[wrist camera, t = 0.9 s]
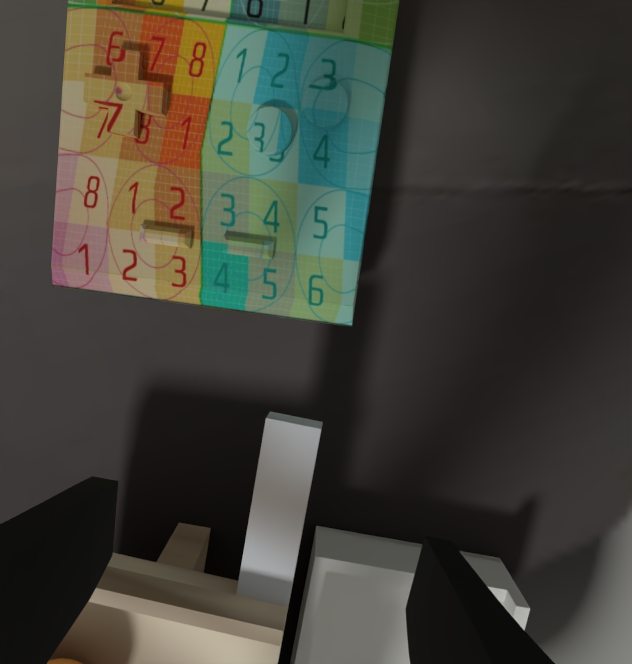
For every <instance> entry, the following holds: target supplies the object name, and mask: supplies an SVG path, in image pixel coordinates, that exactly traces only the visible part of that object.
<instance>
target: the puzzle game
mask: <svg viewBox="0 0 632 664" xmlns="http://www.w3.org/2000/svg"><path fill="white" fill-rule="evenodd" d="M398 7H399V0H68V12H67V27H66V43H65V59H64V74H63V90H62V106H61V121H60V137H59V153H58V168H57V184H56V200H55V215H54V231H53V247H52V262H51V268H52V280H53V286H55V287H63V288H70V289H77V290H85V291H92V292H100V293H107V294H114V295H122V296H129V297H136V298H144V299H151V300H158V301H166V302H173V303H180V304H188V305H195V306H202V307H210V308H217V309H224V310H232V311H239V312H247V313H254V314H261V315H269V316H276V317H283V318H291V319H298V320H305V321H313V322H320V323H327V324H335V325H342V326H349V327H352V323H353V316H354V309H355V302H356V296H357V289H358V282H359V275H360V268H361V261H362V254H363V247H364V241H365V234H366V227H367V220H368V213H369V206H370V199H371V192H372V186H373V179H374V172H375V165H376V158H377V151H378V144H379V137H380V131H381V124H382V117H383V110H384V103H385V96H386V89H387V82H388V76H389V69H390V62H391V55H392V48H393V41H394V34H395V27H396V21H397V14H398Z"/></svg>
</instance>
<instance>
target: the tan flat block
mask: <svg viewBox="0 0 632 664" xmlns="http://www.w3.org/2000/svg"><path fill="white" fill-rule="evenodd" d="M210 530H211V528H207V527H202V526H196V525H190V524H184V523H178V525H177V527H176V529H175V530H174V532H173V534H172V536H171V537H170V539H169V541H168V543H167V544H166V546H165V548H164V550H163V551H162V553H161V555H160V557H159V558H158V560H157V563H161V564H166V565H170V566H175V567H179V568H184V569H188V570H192V571H197V572H201V573H204V569H205V562H206V556H207V549H208V543H209V537H210Z"/></svg>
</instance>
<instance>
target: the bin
mask: <svg viewBox="0 0 632 664" xmlns="http://www.w3.org/2000/svg"><path fill="white" fill-rule="evenodd" d="M422 545H423V544H418V543H412V542H407V541H401V540H395V539H390V538H384V537H378V536H373V535H367V534H361V533H355V532H350V531H344V530H338V529H333V528H327V527H321V526H316V529H315V535H314V540H313V545H312V550H311V556H310V561H309V566H308V571H307V577H306V582H305V587H304V592H303V598H302V603H301V608H300V613H299V619H298V624H297V629H296V635H295V640H294V645H293V650H292V656H291V661H290V664H410V659H409V650H408V638H407V624H406V605H407V601H408V597H409V594H410V590H411V586H412V582H413V579H414V575H415V571H416V567H417V564H418V560H419V556H420V552H421V549H422ZM460 553H461V554H462V555H463V557H464V558H465V559H466V560H467V562H468V563H469V564H470V565H471V567H472V568H473V569H474V570H475V572H476V573H477V574H478V575H479V577H480V578H481V579H482V581H483V582H484V583H485V584H486V586H487V587H488V588H489V589H490V590H491V592H492V593H493V594H494V595H495V597H496V598H497V599H498V600H499V601H500V603H501V604H502V605H503V606H504V608H505V609H506V610H507V611H508V612H509V613H510V615H511V616H512V617H513V618H514V619H515V620H516V622H517V623H518V624H519V625H520V626H521V627H522V628H523V630H524V629H525V626H526V622H527V618H528V615H529V611H530V608H529V606H528V604H527V602H526V601H525V599H524V597H523V596H522V594H521V592H520V591H519V589H518V587H517V586H516V584H515V582H514V581H513V579H512V577H511V576H510V574H509V572H508V571H507V569H506V567H505V566H504V564H503V562H502V561H501V559H500V558H497V557H492V556H486V555H480V554H475V553H469V552H463V551H460Z"/></svg>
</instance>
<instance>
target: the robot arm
mask: <svg viewBox="0 0 632 664" xmlns="http://www.w3.org/2000/svg"><path fill="white" fill-rule="evenodd" d="M117 489H118V481H114V480H109V479H103V478H98V477H90V478H88V479H86V480H84V481H82V482H80V483H78V484H76V485H74V486H72V487H70V488H69V489H67V490H65V491H63V492H61V493H59V494H57V495H56V496H54V497H52V498H50V499H48V500H46V501H44V502H42V503H41V504H39V505H37V506H35V507H33V508H31V509H29V510H27V511H25V512H23V513H21V514H20V515H18V516H16V517H14V518H12V519H10V520H8V521H6V522H4V523H2V524H0V664H47V662H48V661H49V659H50V658H51V656H52V655H53V653H54V652H55V650H56V649H57V648H58V646H59V645H60V643H61V642H62V640H63V639H64V637H65V636H66V634H67V633H68V631H69V630H70V628H71V627H72V625H73V624H74V622H75V621H76V619H77V618H78V616H79V615H80V613H81V612H82V610H83V609H84V607H85V606H86V604H87V603H88V601H89V600H90V598H91V596H92V594H93V592H94V591H95V589H96V587H97V585H98V583H99V581H100V579H101V577H102V575H103V573H104V571H105V569H106V567H107V565H108V563H109V561H110V559H111V557H112V554H113V541H114V528H115V515H116V502H117ZM406 624H407V638H408V650H409V659H410V664H555V663H554V662H553V661H552V660H551V659H550V658H549V657H548V656H547V655H546V654H545V653H544V652H543V651H542V649H541V648H540V647H539V646H538V645H537V644H536V643H535V642H534V641H533V640H532V638H530V636H529V635H528V634H527V633H526V632H525V631H524V630H523V628H522V627H521V626H520V625H519V624H518V623H517V622H516V620H515V619H514V618H513V617H512V616H511V615H510V613H509V612H508V611H507V610H506V609H505V608H504V606H503V605H502V604H501V603H500V601H499V600H498V599H497V598H496V597H495V595H494V594H493V593H492V592H491V590H490V589H489V588H488V587H487V586H486V584H485V583H484V582H483V581H482V579H481V578H480V577H479V575H478V574H477V573H476V572H475V570H474V569H473V568H472V567H471V565H470V564H469V563H468V562H467V560H466V559H465V558H464V557H463V555H462V554H461V553H460V551H459V550H458V549H457V548H456V547H455V545H454V544H453V543H452V542H451V541H447V540H442V539H436V538H431V537H424V541H423V545H422V549H421V552H420V556H419V560H418V564H417V567H416V571H415V575H414V579H413V582H412V586H411V590H410V594H409V597H408V601H407V605H406Z"/></svg>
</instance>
